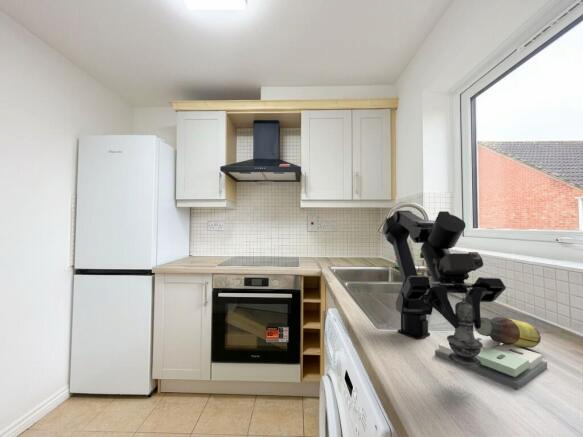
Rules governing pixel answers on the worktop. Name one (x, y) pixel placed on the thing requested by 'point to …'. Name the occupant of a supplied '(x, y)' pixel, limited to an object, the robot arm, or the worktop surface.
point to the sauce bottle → (510, 332)
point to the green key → (502, 362)
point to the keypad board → (515, 382)
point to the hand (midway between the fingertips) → (468, 327)
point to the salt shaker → (464, 337)
